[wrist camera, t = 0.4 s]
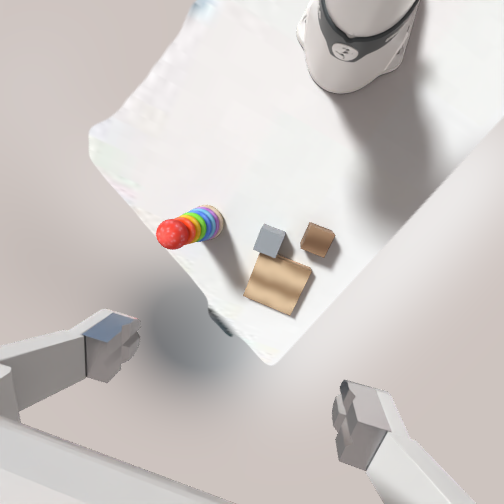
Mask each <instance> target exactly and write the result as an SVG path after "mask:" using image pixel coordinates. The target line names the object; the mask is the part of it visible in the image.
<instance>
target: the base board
mask: <svg viewBox="0 0 504 504" xmlns="http://www.w3.org/2000/svg"><path fill="white" fill-rule="evenodd" d="M311 272H312V271H311V268H310V267H308V266H305V265H303V264H300V263H298V262H295V261H293V260H290V259H288V258H285V257H283V256H280V255H278V254H277V255H276V258H273V257H271V256H268V255H266V254H263V253H261V252H260V254H259V256H258V259H257V261H256V264H255V266H254V269H253V272H252V274H251V277H250V279H249V282H248V284H247V287H246V289H245V292H244V294H243V296H245V297H247V298H249V299H252V300H254V301H257V302H259V303H261V304H264V305H266V306H268V307H271V308H273V309H276V310H278V311H280V312H283V313H285V314H288V315H291V313H292V311H293V309H294V307H295V305H296V303H297V301H298V299H299V297H300V294H301V292H302V290H303V288H304V286H305V284H306V282H307V280H308V278H309V276H310V274H311Z"/></svg>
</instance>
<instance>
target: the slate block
mask: <svg viewBox="0 0 504 504" xmlns="http://www.w3.org/2000/svg"><path fill="white" fill-rule="evenodd" d="M284 236H285V232H284V231H282V230H279V229H276V228H274V227H271V226H269V225H266V224H264V225H263V226H262V228H261V230H260V233H259V235H258V238H257V241H256V243H255V246H254V249H253V250H256V251H258V252H261V253H263V254H266V255H268V256H271V257H273V258H276V255H277V253H278V251H279V248H280V246H281V243H282V241H283V239H284Z"/></svg>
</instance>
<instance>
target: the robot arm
mask: <svg viewBox="0 0 504 504" xmlns="http://www.w3.org/2000/svg"><path fill="white" fill-rule="evenodd" d="M419 2H420V0H311V1H310V3H309V4H308V6H307V8H306V10H305V12H304V14H303V16H302V18H301V20H300V22H299V24H298V26H297V31H296V35H297V38H298V40H299V42H300V44H301V45H302V47H303V48H304V52H305V57H306V63H307V67H308V70H309V73H310V75H311V76H312V78H313V79H314V81H315V82H316V83H317V84H318V85H319V86H320V87H322V88H323V89H325V90H327V91H329V92H333V93H340V94H343V93H350V92H354V91H356V90H359V89H361V88H363V87H364V86H366V85H367V84H369V83H370V82H371V81H373V80H374V79H375V78H376V77H378V76H379V75H382V74H385V73H388V72H391V71H393V70H395V69H397V68H398V67H399V65H400V64H401V62H402V60H403V56H404V53H405V49H406V46H407V43H408V39H409V36H410V32H411V29H412V26H413V22H414V19H415V15H416V12H417V9H418V5H419ZM305 22H306V24H305ZM397 53H398V54H397ZM396 54H397V55H396ZM140 325H141V321H140V320H139V319H138V318H135V317H132V316H129V315H125V314H122V313H119V312H115V311H113V310H109V309H101V310H100V311H98V312H97V313H95V314H93V315H92V316H90V317H89V318H87V319H86V320H84V321H82V322H81V323H79V324H78V325H76V326H75V327H73V328H72V329H70V330H68V331H66V330H61V331H58V332H53V333H49V334H46V335H41V336H38V337H33V338H29V339H25V340H22V341H18V342H13V343H10V344H5V345H1V346H0V504H236V503H233V502H231V501H228V500H225V499H223V498H220V497H217V496H214V495H212V494H209V493H206V492H204V491H201V490H198V489H196V488H193V487H190V486H188V485H185V484H182V483H180V482H177V481H174V480H172V479H169V478H166V477H164V476H161V475H158V474H156V473H153V472H150V471H148V470H145V469H142V468H140V467H137V466H134V465H132V464H129V463H126V462H123V461H121V460H118V459H116V458H113V457H110V456H108V455H105V454H102V453H100V452H97V451H94V450H92V449H88V448H86V447H83V446H81V445H78V444H76V443H73V442H70V441H68V440H64V439H62V438H60V437H57V436H54V435H52V434H49V433H46V432H44V431H41V430H38V429H35V428H33V427H30V426H28V425H25V424H22V423H21V421H20V416H19V411H21V410H23V409H25V408H27V407H29V406H31V405H33V404H35V403H37V402H39V401H41V400H43V399H45V398H47V397H49V396H51V395H53V394H55V393H57V392H59V391H61V390H63V389H65V388H67V387H69V386H71V385H73V384H75V383H77V382H79V381H81V380H83V379H85V378H86V377H88V378H91V379H95V380H98V381H101V382H105V383H108V382H109V381H110V380H111V379H112V378H113V377H114V376H115V374H117V373H118V371H120V369H121V364H122V363H124V362H126V361H129V360H130V359H131V358H132V356H134V354H135V352H136V351H137V349H138V346H139V342H140V336H139V334H138V332H137V331H138V330H139V329H140V327H141V326H140ZM340 391H341V394H340V395H338V396H336V398H335V401H334V404H333V410H332V420H333V426H334V427H335V429H336V430H337V432H338V434H337V437H336V439H335V440H336V446H337V452H338V458H339V461H340V462H343V463H345V464H348V465H351V466H354V467H356V468H359V469H362V470H365V471H366V474H367V476H368V477H369V479H370V481H371V482H372V484H373V486H374V487H375V489H376V491H377V493H378V494H379V496H380V498H381V499H382V501H383V503H384V504H476V503H475V502H474V501H473V500H472V498H470V496H469V495H468V494H467V493H466V492H465V491H464V490H463V489H462V488H461V487H460V486H459V485H458V484H457V483H456V482H455V481H454V480H453V479H452V478H451V477H450V476H449V474H448V473H447V472H446V471H444V469H443V468H442V467H441V466H440V465H439V464H438V463H437V462H436V461H435V460H434V459H433V458H432V457H431V456H430V455H429V454H428V453H427V452H426V450H425V449H424V448H423V447H422V446H421V445H420V444H419V443H418V442H417V441H416V440H413V439H411V438H410V436H409V434H408V432H407V429H406V427H405V425H404V423H403V421H402V419H401V416H400V414H399V412H398V410H397V408H396V405H395V403H394V401H393V399H392V397H391V395H390V393H388V392H387V391H384V390H380V389H377V388H372V387H369V386H365V385H362V384H358V383H355V382H351V381H348V380H344V381H343V382H342V383H341V386H340Z"/></svg>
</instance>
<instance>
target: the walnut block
mask: <svg viewBox="0 0 504 504" xmlns="http://www.w3.org/2000/svg"><path fill="white" fill-rule="evenodd" d="M334 237H335V234H334V233H333V232H332V230H329V229H326V228H324V227H321V226H319V225H316V224H314V223H311V222H309V225H308V227H307V229H306V231H305V234H304V236H303V238H302V240H301V242H300V244H301V249H303V250H306V251H308V252H311V253H313V254H316V255H318V256H321V257H323V258H324V257H325V255H326V253H327V251H328V249H329V247H330V245H331V243H332V241H333V239H334Z"/></svg>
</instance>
